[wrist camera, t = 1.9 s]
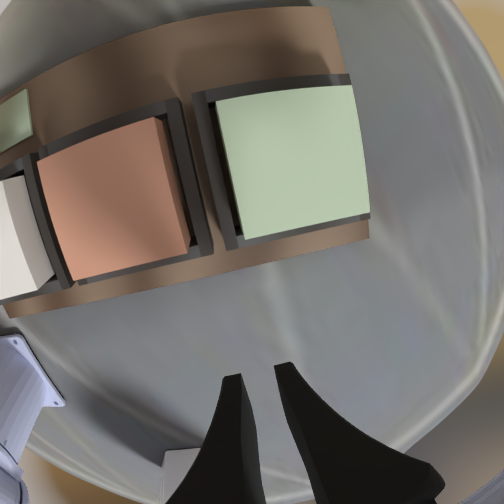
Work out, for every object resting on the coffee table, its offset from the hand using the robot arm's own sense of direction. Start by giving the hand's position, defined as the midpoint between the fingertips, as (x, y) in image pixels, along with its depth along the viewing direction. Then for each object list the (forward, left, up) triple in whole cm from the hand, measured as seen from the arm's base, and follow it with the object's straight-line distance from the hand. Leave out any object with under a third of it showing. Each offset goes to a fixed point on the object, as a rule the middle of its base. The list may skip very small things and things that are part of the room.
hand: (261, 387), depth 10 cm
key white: (-13, +8, -5) cm, 16 cm away
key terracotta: (-5, +7, -5) cm, 10 cm away
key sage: (+3, +8, -5) cm, 10 cm away
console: (-4, +9, -8) cm, 13 cm away
